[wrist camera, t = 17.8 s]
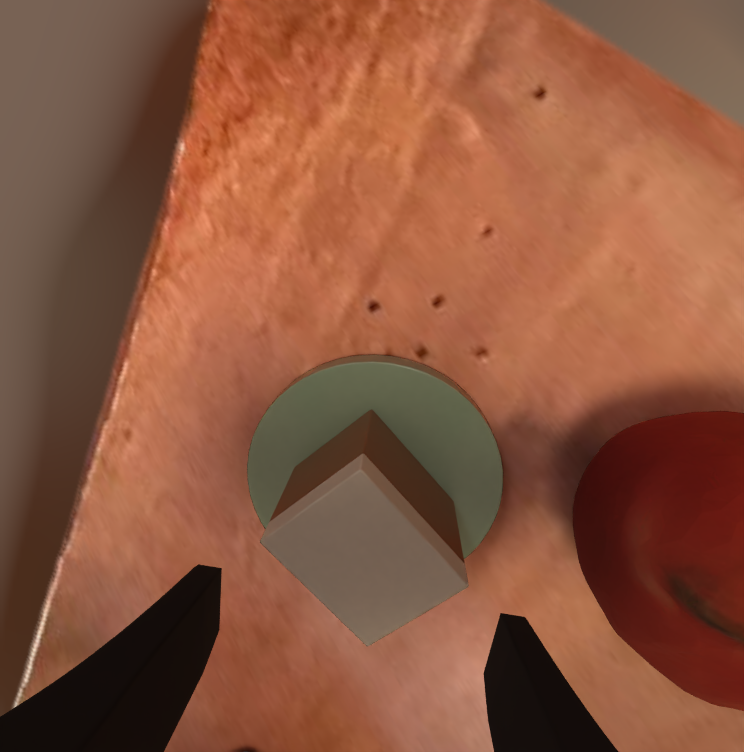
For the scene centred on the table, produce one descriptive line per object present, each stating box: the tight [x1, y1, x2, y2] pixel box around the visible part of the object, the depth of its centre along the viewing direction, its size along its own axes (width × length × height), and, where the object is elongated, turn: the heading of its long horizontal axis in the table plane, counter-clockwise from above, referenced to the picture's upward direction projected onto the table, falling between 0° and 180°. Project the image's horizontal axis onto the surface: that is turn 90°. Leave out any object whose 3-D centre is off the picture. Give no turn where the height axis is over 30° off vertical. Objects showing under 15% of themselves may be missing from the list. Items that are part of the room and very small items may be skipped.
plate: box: [247, 355, 503, 559], centre depth 18 cm, size 10×10×1 cm
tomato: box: [573, 411, 744, 711], centre depth 14 cm, size 9×9×8 cm
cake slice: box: [260, 409, 469, 646], centre depth 16 cm, size 4×5×4 cm
